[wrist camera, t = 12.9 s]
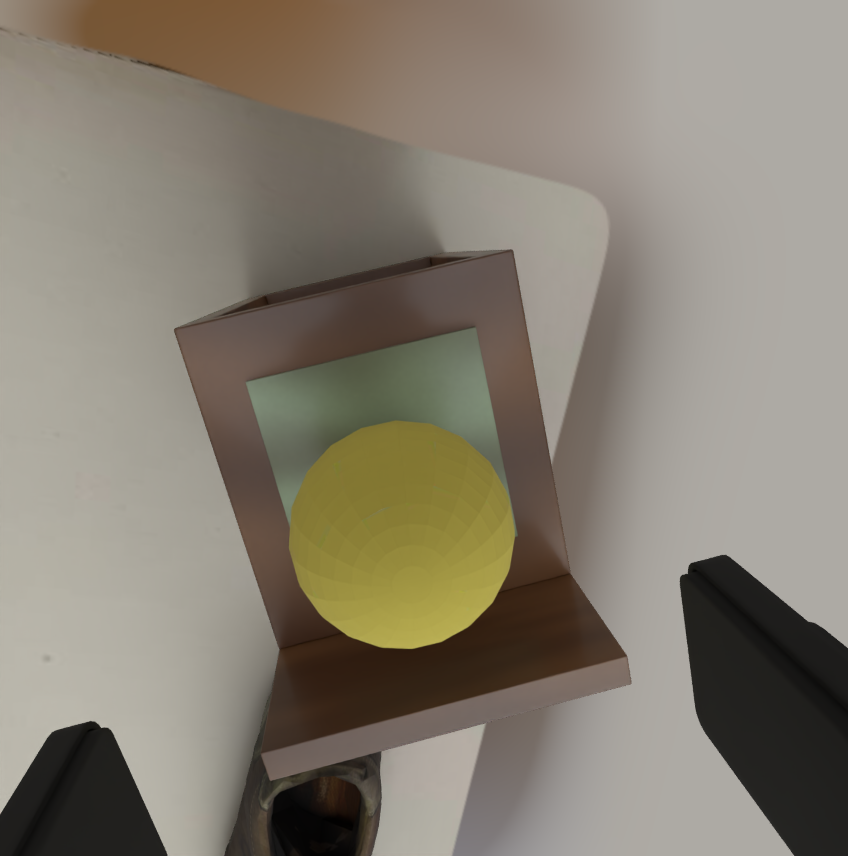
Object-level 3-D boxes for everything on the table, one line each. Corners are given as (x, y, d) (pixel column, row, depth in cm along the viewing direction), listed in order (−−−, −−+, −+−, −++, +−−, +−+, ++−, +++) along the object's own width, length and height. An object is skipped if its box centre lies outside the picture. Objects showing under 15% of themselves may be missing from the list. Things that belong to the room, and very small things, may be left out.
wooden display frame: (248, 298, 41) (115, 351, 18) (446, 252, 42) (563, 246, 19) (311, 514, 45) (269, 781, 22) (491, 469, 46) (632, 684, 23)
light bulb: (363, 347, 25) (371, 405, 15) (504, 437, 26) (594, 543, 16) (272, 490, 26) (224, 629, 16) (413, 568, 27) (447, 740, 18)
